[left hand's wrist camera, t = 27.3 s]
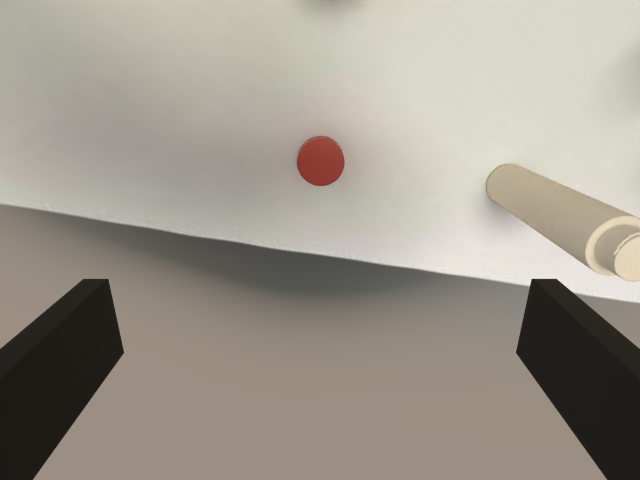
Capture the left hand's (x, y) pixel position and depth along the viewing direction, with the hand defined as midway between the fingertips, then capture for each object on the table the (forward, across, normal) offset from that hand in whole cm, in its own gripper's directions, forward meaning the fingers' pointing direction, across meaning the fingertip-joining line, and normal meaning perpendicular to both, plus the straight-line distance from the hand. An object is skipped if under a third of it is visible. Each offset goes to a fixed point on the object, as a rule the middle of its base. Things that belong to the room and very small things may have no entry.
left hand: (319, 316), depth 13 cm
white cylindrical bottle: (+29, +19, -3) cm, 35 cm away
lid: (+27, 0, 0) cm, 27 cm away
